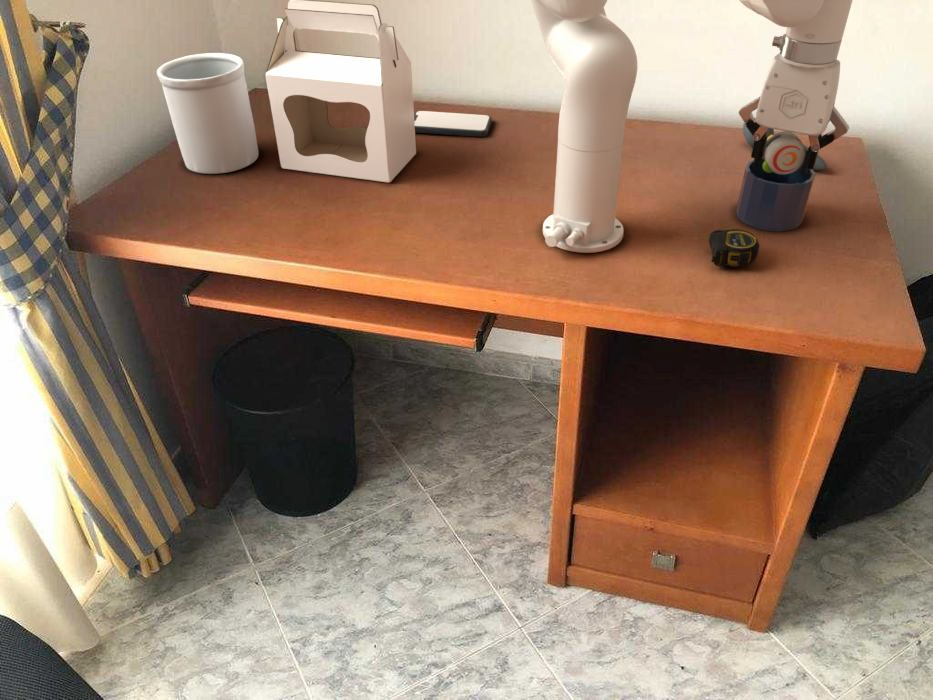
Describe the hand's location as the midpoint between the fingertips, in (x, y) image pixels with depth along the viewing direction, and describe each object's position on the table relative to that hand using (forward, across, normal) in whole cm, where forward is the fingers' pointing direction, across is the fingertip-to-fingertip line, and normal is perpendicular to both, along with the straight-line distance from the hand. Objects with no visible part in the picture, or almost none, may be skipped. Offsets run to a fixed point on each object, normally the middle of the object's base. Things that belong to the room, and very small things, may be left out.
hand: (781, 166), depth 121 cm
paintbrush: (+9, -4, +25) cm, 27 cm away
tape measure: (+9, -2, -17) cm, 19 cm away
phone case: (+9, -65, +7) cm, 66 cm away
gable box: (+9, -73, -16) cm, 75 cm away
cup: (+9, 0, 0) cm, 9 cm away
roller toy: (+1, 0, 0) cm, 1 cm away
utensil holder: (+9, -95, -27) cm, 99 cm away
